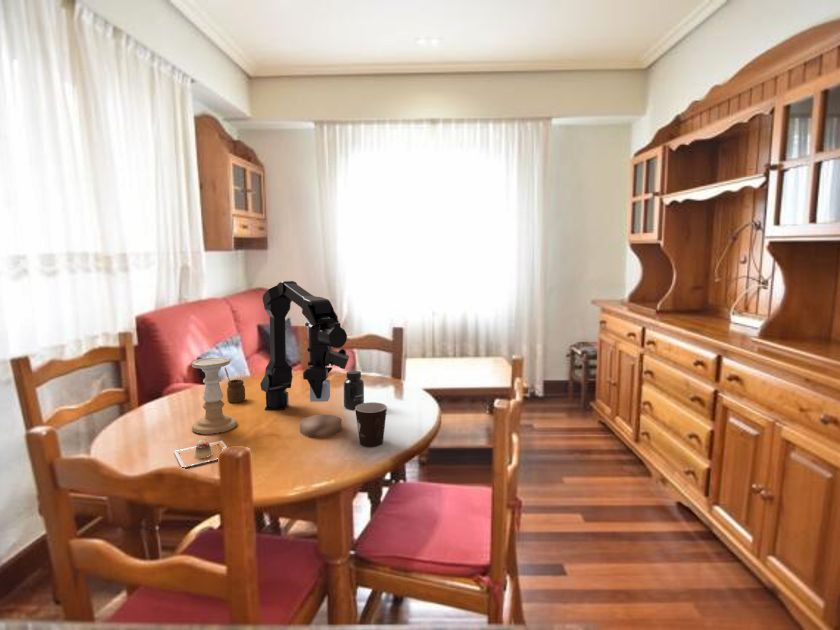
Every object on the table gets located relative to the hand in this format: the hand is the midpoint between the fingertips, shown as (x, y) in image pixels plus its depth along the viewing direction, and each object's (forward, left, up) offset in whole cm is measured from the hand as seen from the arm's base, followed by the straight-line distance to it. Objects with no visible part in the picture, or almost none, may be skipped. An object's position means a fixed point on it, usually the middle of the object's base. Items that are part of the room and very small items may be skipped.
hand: (320, 395), depth 138 cm
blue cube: (0, 0, -1) cm, 1 cm away
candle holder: (-32, +4, -10) cm, 34 cm away
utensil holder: (-34, +30, -10) cm, 47 cm away
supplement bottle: (+8, +21, -10) cm, 25 cm away
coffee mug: (+15, -12, -10) cm, 22 cm away
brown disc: (0, 0, -10) cm, 10 cm away
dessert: (-28, -16, -11) cm, 34 cm away
